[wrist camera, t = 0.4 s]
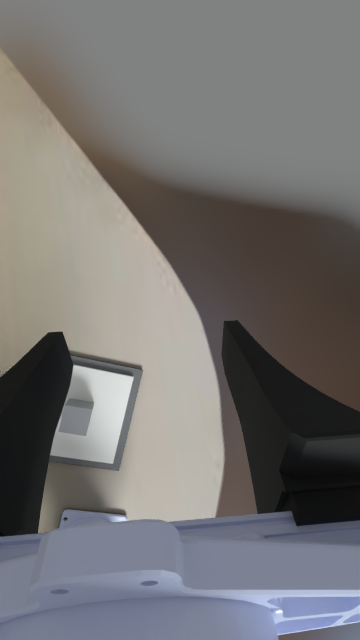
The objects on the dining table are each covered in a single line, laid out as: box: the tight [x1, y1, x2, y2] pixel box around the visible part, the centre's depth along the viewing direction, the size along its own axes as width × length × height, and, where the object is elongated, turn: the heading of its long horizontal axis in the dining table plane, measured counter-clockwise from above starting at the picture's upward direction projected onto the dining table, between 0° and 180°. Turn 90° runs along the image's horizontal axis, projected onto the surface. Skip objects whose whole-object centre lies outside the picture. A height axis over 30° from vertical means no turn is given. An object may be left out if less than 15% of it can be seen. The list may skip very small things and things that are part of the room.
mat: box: [49, 355, 143, 471], centre depth 37 cm, size 13×13×1 cm
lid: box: [50, 364, 134, 464], centre depth 35 cm, size 11×11×4 cm
